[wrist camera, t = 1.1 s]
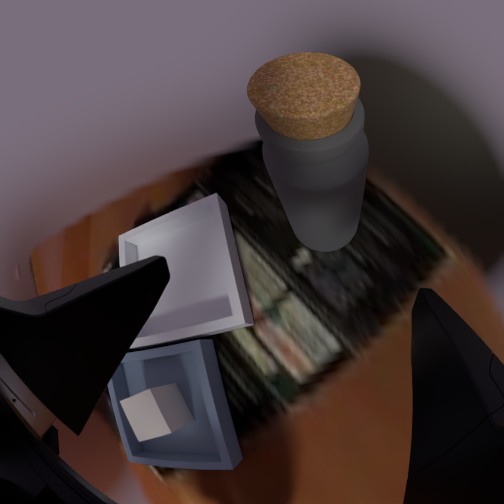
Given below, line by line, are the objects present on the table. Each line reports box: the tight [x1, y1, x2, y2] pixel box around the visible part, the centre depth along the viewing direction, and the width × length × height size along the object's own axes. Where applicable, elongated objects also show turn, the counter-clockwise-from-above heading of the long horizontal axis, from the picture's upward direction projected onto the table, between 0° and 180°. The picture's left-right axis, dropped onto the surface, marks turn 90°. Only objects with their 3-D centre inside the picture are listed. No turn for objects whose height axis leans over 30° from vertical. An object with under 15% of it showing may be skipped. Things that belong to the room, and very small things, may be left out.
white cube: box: [120, 383, 195, 442], centre depth 19 cm, size 4×4×4 cm
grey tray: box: [119, 193, 254, 348], centre depth 24 cm, size 12×12×2 cm
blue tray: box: [108, 339, 243, 470], centre depth 21 cm, size 12×12×2 cm
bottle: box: [247, 52, 369, 252], centre depth 16 cm, size 6×6×15 cm
